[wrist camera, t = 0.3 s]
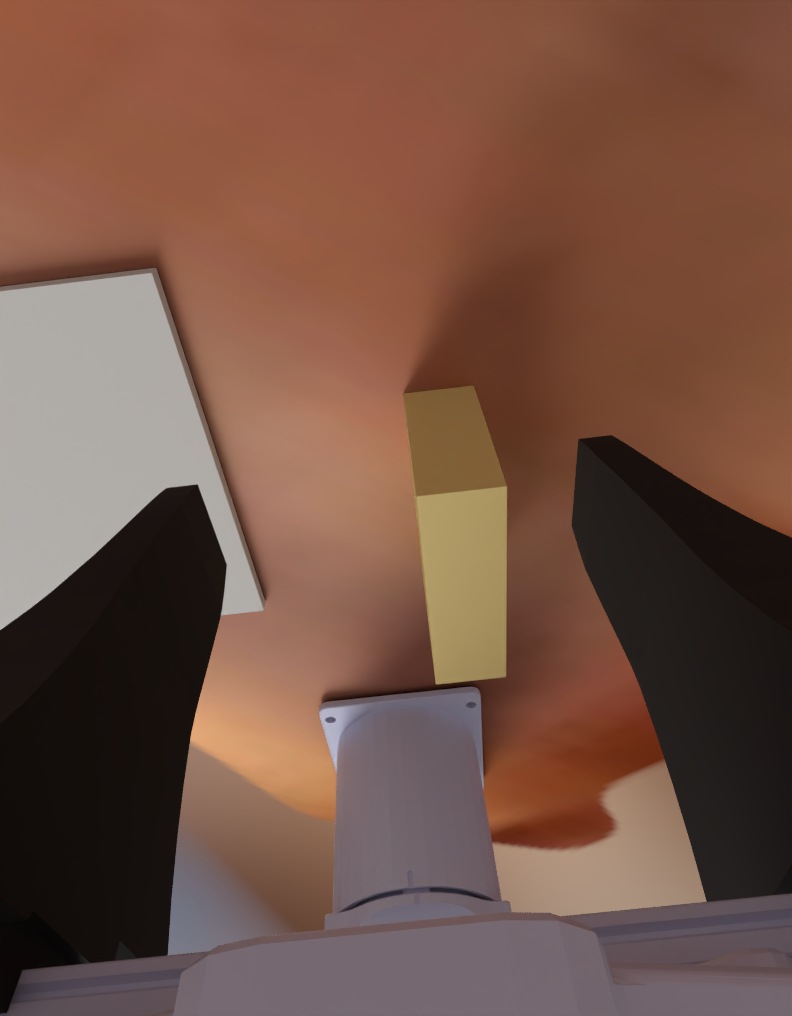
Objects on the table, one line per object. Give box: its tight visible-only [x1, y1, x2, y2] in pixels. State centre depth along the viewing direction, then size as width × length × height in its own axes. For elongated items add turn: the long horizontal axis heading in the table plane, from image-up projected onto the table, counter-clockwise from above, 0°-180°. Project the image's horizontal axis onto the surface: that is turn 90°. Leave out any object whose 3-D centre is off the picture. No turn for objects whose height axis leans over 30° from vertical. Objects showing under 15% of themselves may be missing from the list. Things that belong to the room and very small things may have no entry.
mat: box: [0, 268, 265, 630], centre depth 23 cm, size 14×12×1 cm
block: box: [403, 385, 507, 684], centre depth 21 cm, size 8×2×6 cm, turn 6°
